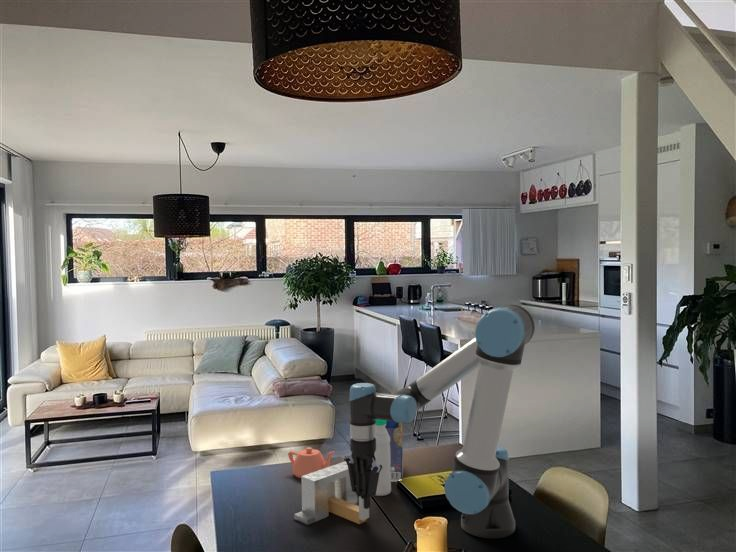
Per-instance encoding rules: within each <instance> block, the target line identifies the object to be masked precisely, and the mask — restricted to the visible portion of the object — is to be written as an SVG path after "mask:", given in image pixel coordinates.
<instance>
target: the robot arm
mask: <svg viewBox="0 0 736 552" xmlns="http://www.w3.org/2000/svg"><path fill="white" fill-rule="evenodd" d="M535 323H536V322H535V319H534V317H533V316H532V313H530V311H529V310H528V309H526V308H525V307H523V306H522V305H521V306H520V305H519V304H508V305H504V306H503V305H502V306H498V307H494V308H492V309H489V310H488V311H486V312H485V313H484V314H482V316H480V318H479V319H478V321H477V323H476V326H475V329H474V330H475V331H474V337H473V338H472V339H471V340H469V341H468V342H466V343H465V344H464V345H462V346H461V347H460V348H458V349H457V350H455V351H454V352H453V353H451V354H449V356H447V357H446V358H445V359H443V360H441V361H440V362H439V363H438V364H436V365H435V366H433V367H431V369H428V371H427V372H425V373H423V374H422V375H421V376H420V377H418V378H417V379H415V380H413V381H412V382H411V383H409V384H408V385H406V386H405V387H404V388H402V389H399V390H397V391H395V392H393V393H385V392H378V391H377V390H376V386H375V384H373V383H370V382H359V383H358V382H357V383H354V384H352V385H351V386H350V388H349V400H348V402H349V436H350V439H349V445H350V446H349V450H350V452H351V454H350V456H348V457H346V458H345V461H346V463H347V465H348V470H349V476H350V482H351V487H352V491H353V492H356V494H357V497H358V504H357V506H359V519H360V520H365V519H366V520H367V519H368V518H370V509H371V508H370V507H371V497H374V496H376V490H377V485H378V479H379V474H380V471H381V469H382V465H378V464H377V463H376V458H375V455H374V453H375V451H376V438H375V436H376V419H379V420H386V421H393V422H398V423H402V424H410V423H412V422H413V421H414V419H415V417H416V416H417V412H418V411H419V410H421V409H423V408H424V407H425V406H427V404H429V403H430V402H432V401H433V400H434V399H435V398H437V397H438V396H440V395H442V394H443V393H444V392H446V391H448V390H449V389H450V388H451V387H453V386H454V385H456V384H458V383H459V382H460V381H462V380H463V379H465V378H466V377H468V376H469V375H471V374H472V373H473V372H475V371H476V370H477V375H476V381H475V385H474V391H473V394H472V395H473V396H472V400H471V404H470V409H469V415H468V420H467V425H466V430H465V435H464V438H463V439H464V441H463V444H462V445H463V447H462V448H460V449H459V450H457V451H456V452H455V455H454V460H453V465H452V471H451V473H449V474H448V476H447V477H446V480H445V481H444V494H445V497H446V500H447V501H448V502H449V504H450V505H451V506H452V507H453V508H454V509H455V510H457V511H458V512H460V513H461V516H460V526H461V529H462V530H463V531H464V532H465V533H467V534H469V535H470V536H475V537H476V538H477V537H478V538H483V539H502V538H506V537H509V536H511V535H513V534H514V532H516V519H515V517H514V514H513V510H512V507H511V504H510V500H509V499H510V498H509V497H510V496H509V495H510V494H509V489H510V488H509V487H510V486H509V462H510V459H509V452H508V450H507V449H506V448H505V447H502V446H499V440H500V436H501V431H502V426H503V421H504V416H505V412H506V407H507V402H508V398H509V392H510V388H511V381H512V378H513V373H514V369H517V368H518V367H519V366H521V365H522V360H523V356H524V351H525V346H526V345H527V344H528V343H529V342H530V341H531V340H532V339H533V336H534V334H535V331H536V329H535V328H536V325H535ZM355 486H356V487H355Z"/></svg>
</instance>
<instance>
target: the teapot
mask: <svg viewBox="0 0 736 552" xmlns="http://www.w3.org/2000/svg"><path fill="white" fill-rule="evenodd" d="M335 452H336V451H334V450H333V451H329V452H328V453H327V456H326V460H325V458H324V456H323V454H322V452H321V451H320V450H318V449H315V448H314V449H313V447H311V446H310V447H308V446H307V447H306V448H305V449H302V450H300V451H298V452H296V451H293V450H290V451H288V453H287V457H288V459H289V461H290V463H291V464H292V473H293V476H295V477H296V478H297V477H298V478H297V479H300V478H301V476H304V475H307V474H310V473H312V472H315V471H318V470H321V469H324V468H327V467H330V466H331V465H330V464H331V459H332V455H333V454H334V453H335ZM293 455H295V459H294V457H293Z"/></svg>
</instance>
